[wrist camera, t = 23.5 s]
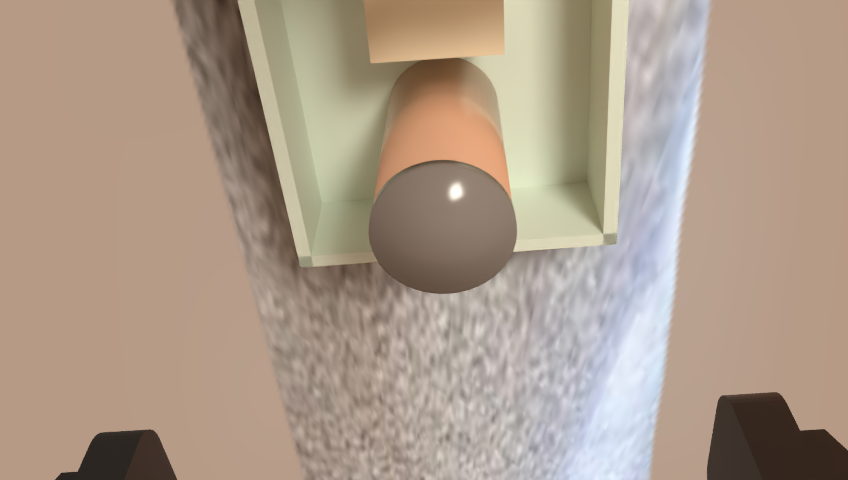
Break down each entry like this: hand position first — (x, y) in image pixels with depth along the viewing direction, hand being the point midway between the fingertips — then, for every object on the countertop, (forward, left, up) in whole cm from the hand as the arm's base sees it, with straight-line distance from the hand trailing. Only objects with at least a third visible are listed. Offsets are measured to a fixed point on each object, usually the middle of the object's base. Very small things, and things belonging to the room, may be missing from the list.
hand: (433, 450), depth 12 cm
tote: (+3, +2, -26) cm, 26 cm away
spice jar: (+6, +4, -25) cm, 26 cm away
